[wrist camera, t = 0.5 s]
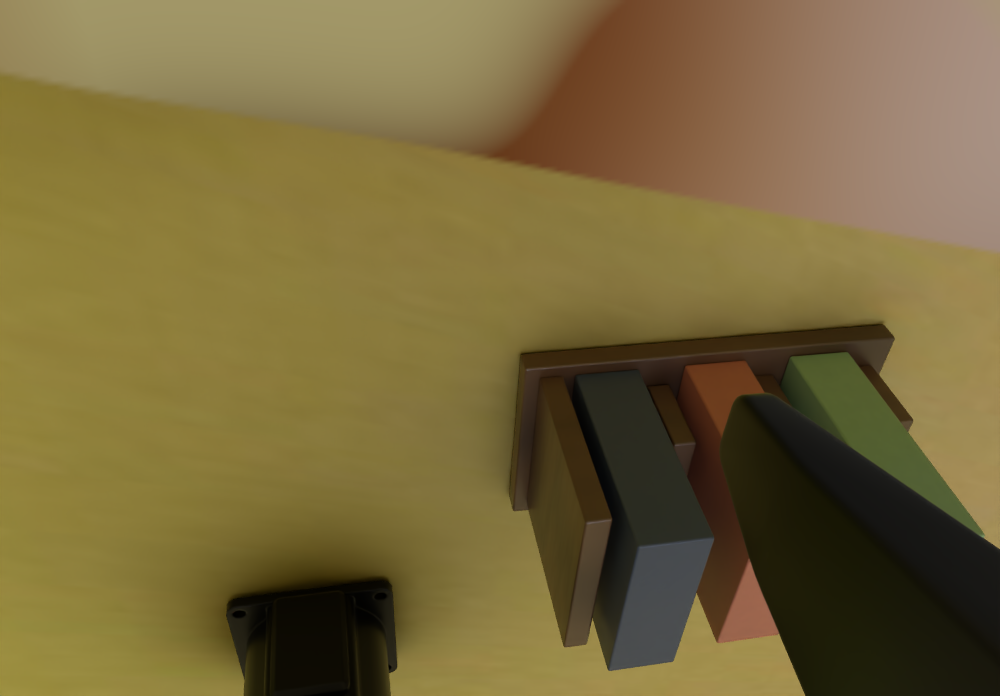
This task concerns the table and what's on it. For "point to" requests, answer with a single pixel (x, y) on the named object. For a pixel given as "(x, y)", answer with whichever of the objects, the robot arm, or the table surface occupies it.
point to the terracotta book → (722, 503)
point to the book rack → (565, 456)
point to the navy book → (640, 522)
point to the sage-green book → (865, 424)
